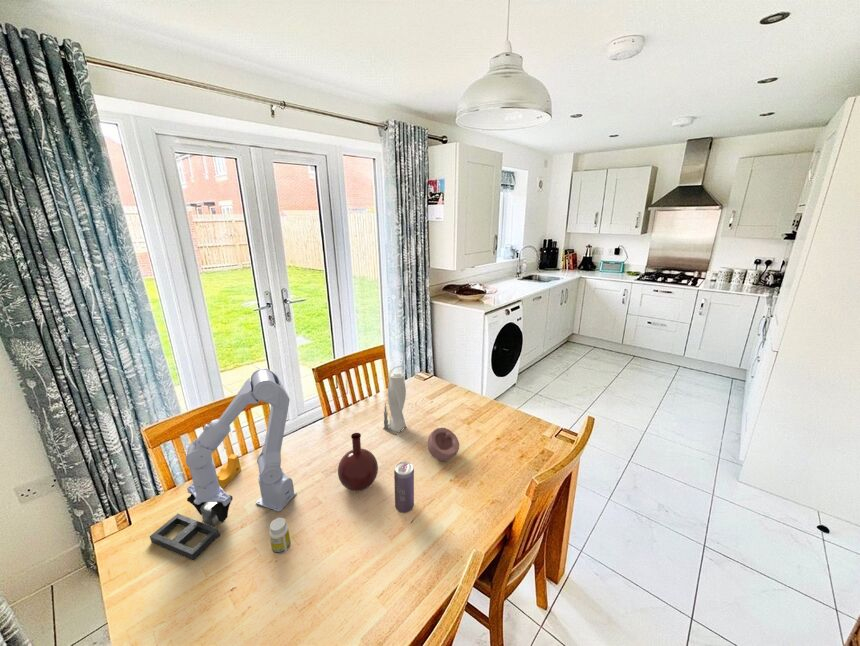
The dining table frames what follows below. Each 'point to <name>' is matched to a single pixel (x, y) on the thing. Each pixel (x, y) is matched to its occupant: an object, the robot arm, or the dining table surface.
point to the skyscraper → (395, 402)
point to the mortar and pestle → (443, 444)
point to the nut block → (209, 514)
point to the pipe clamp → (229, 470)
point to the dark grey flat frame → (185, 536)
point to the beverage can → (404, 487)
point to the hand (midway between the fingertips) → (214, 516)
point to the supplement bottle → (279, 536)
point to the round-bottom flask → (357, 467)
